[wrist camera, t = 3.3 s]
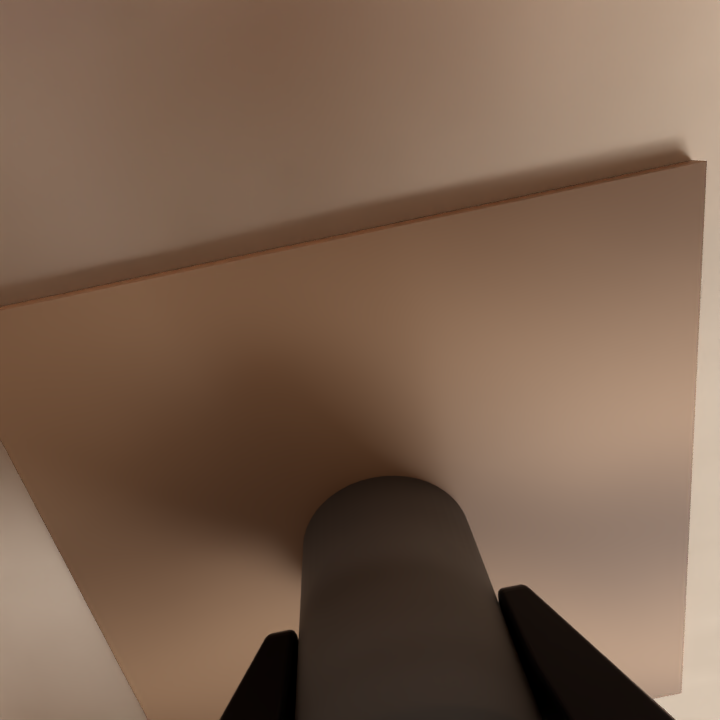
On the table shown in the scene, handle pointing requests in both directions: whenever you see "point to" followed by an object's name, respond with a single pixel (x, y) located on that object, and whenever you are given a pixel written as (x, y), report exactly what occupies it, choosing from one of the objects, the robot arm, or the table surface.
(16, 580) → the table surface
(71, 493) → the lid
